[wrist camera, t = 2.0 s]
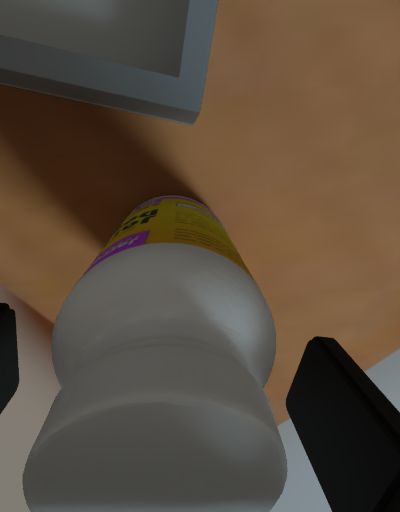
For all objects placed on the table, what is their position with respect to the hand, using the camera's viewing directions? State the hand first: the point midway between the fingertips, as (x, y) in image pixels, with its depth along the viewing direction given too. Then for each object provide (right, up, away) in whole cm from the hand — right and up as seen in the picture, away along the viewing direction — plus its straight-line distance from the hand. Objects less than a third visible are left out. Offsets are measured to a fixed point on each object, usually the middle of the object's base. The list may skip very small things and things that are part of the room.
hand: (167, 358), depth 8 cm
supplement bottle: (-1, +4, +8) cm, 9 cm away
